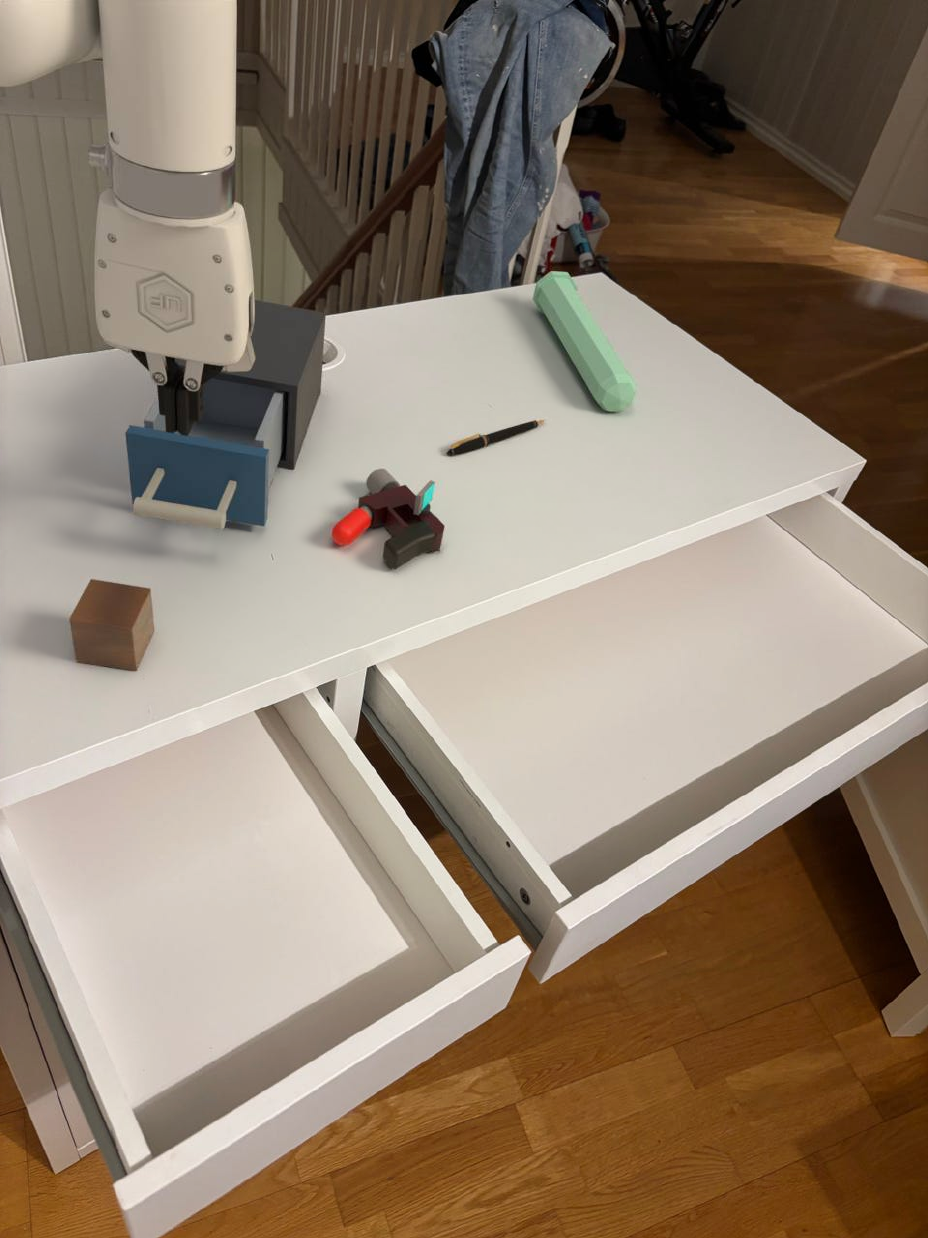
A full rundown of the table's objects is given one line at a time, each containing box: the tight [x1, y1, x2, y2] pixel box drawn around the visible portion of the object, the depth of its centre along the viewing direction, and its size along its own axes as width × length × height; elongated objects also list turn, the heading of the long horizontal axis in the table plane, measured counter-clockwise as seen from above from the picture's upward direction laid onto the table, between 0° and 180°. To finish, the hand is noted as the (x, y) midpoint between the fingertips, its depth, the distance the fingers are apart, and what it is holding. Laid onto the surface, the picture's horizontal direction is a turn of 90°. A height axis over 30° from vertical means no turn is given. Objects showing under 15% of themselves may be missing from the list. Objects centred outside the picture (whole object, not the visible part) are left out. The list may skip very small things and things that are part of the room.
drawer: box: [124, 378, 289, 530], centre depth 82 cm, size 19×11×7 cm, turn 176°
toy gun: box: [330, 468, 445, 570], centre depth 84 cm, size 10×12×5 cm
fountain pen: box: [445, 419, 546, 457], centre depth 99 cm, size 14×1×2 cm, turn 130°
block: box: [68, 578, 155, 672], centre depth 69 cm, size 4×4×4 cm
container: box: [532, 270, 638, 412], centre depth 113 cm, size 6×6×25 cm
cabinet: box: [156, 299, 327, 470], centre depth 92 cm, size 15×13×9 cm
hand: (182, 424), depth 72 cm, fingers closed
